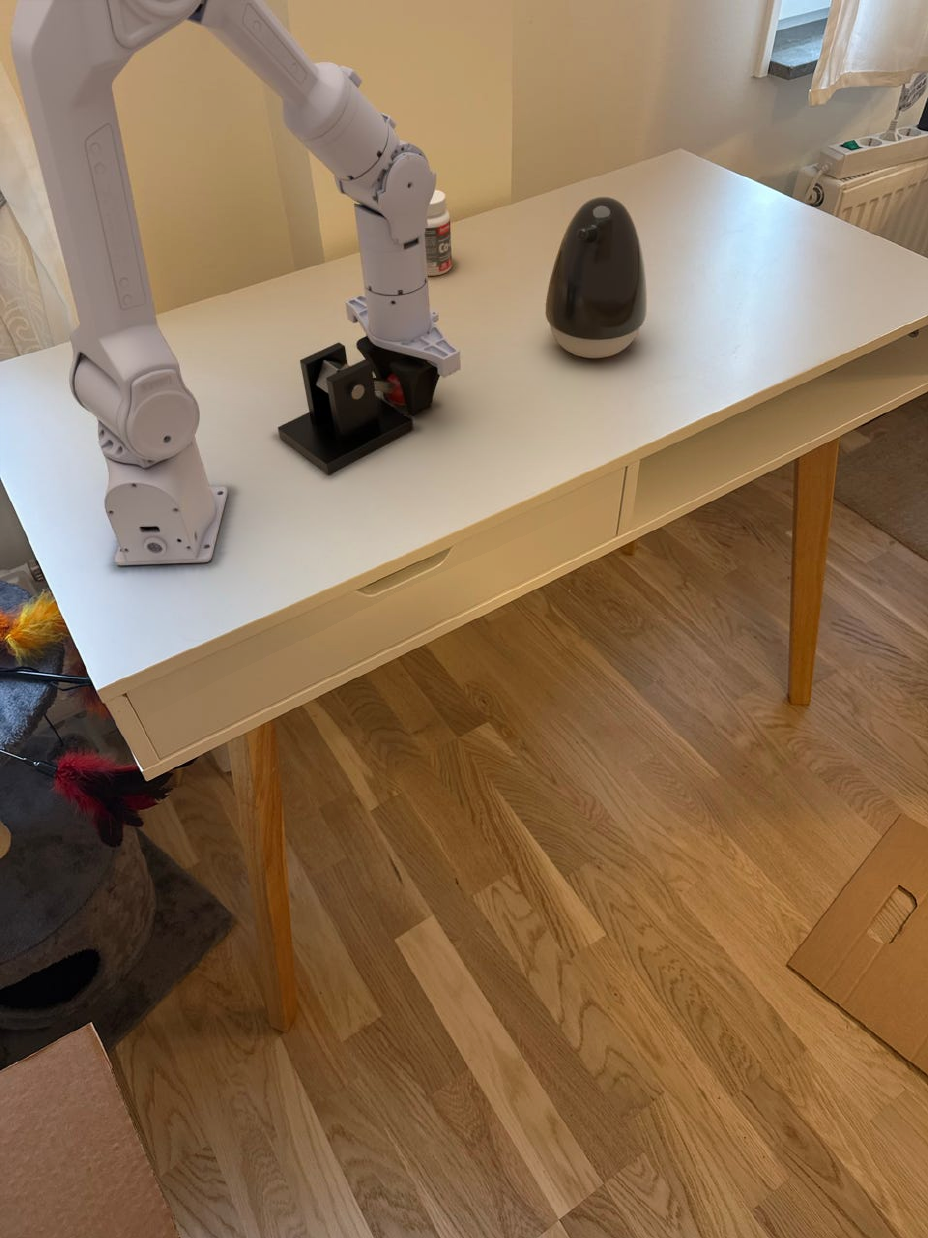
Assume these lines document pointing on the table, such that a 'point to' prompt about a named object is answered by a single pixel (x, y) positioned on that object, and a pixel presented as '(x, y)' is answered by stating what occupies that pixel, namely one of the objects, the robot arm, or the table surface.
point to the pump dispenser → (598, 282)
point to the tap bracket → (342, 414)
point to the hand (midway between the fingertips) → (408, 409)
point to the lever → (381, 385)
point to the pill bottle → (438, 236)
